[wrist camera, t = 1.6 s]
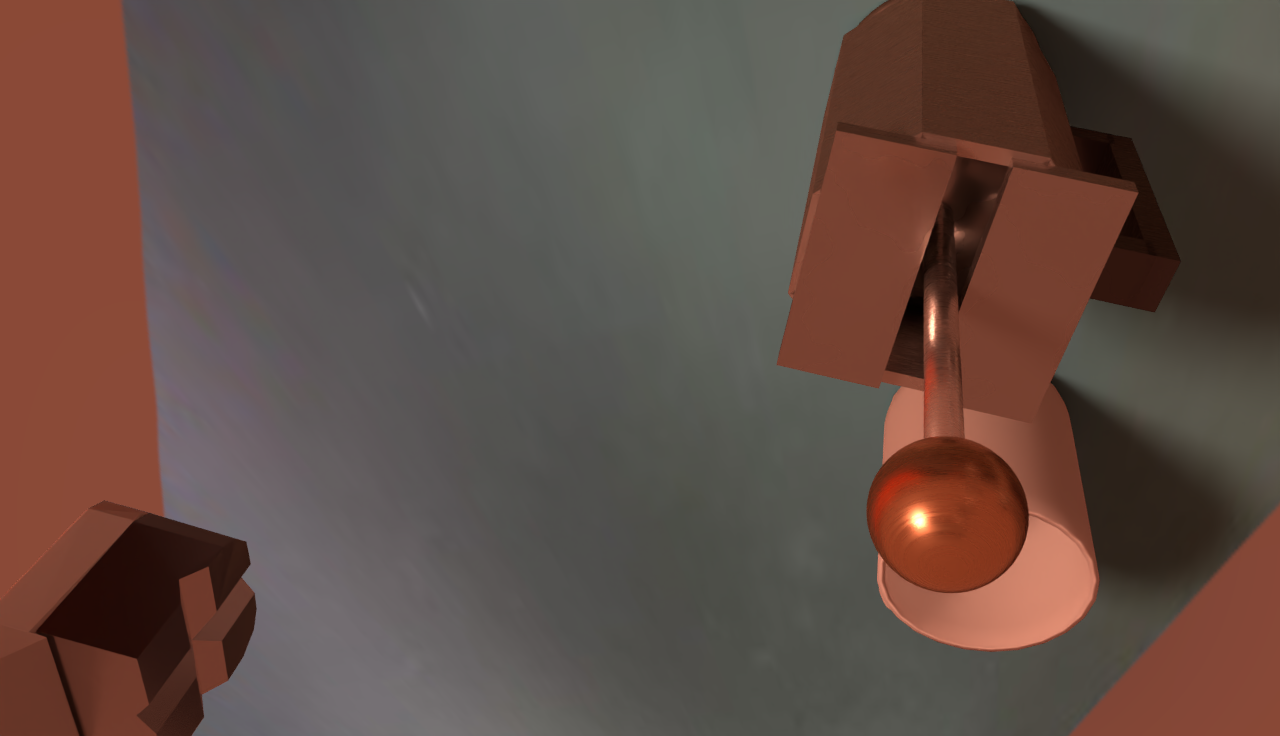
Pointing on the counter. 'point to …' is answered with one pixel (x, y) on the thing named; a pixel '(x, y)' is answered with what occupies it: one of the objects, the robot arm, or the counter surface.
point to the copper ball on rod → (949, 427)
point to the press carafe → (913, 191)
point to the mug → (1052, 553)
